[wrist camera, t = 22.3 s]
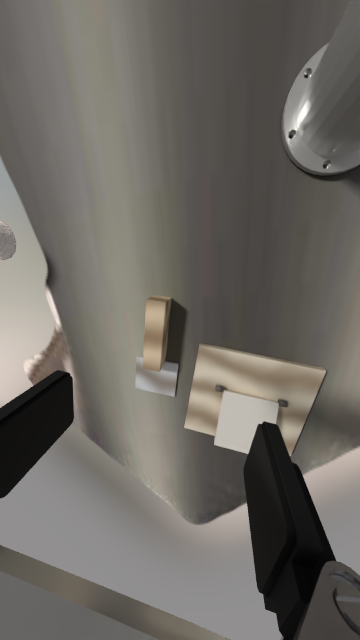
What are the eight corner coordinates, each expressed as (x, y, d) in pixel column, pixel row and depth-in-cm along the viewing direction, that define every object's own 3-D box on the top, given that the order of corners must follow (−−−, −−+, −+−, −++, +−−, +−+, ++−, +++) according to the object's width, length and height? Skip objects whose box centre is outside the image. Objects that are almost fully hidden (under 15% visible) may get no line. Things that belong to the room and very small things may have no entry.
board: (200, 342, 34) (198, 348, 32) (323, 367, 31) (330, 375, 29) (185, 423, 40) (183, 432, 37) (288, 451, 37) (293, 462, 35)
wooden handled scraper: (140, 293, 34) (131, 297, 30) (186, 299, 33) (182, 304, 29) (136, 386, 39) (127, 399, 36) (175, 395, 38) (170, 409, 34)
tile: (214, 444, 33) (213, 440, 34) (270, 459, 32) (267, 455, 33) (224, 390, 33) (223, 388, 35) (279, 403, 32) (276, 401, 33)
